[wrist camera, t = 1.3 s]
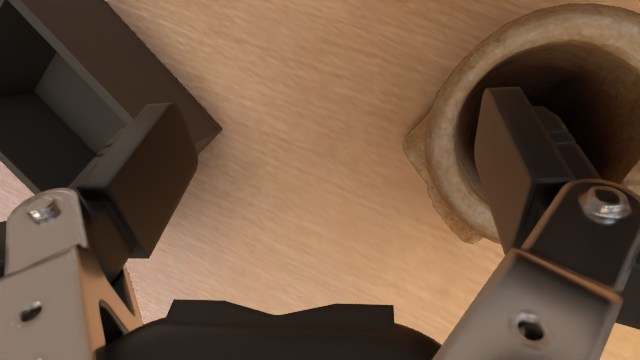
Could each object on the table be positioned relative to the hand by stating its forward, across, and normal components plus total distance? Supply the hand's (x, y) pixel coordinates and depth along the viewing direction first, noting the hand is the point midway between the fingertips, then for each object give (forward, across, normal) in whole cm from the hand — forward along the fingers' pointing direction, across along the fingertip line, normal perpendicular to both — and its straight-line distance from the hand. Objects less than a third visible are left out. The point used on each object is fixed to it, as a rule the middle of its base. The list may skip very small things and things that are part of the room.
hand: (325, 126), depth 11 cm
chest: (+21, +22, +10) cm, 32 cm away
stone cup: (+17, -10, +10) cm, 22 cm away
